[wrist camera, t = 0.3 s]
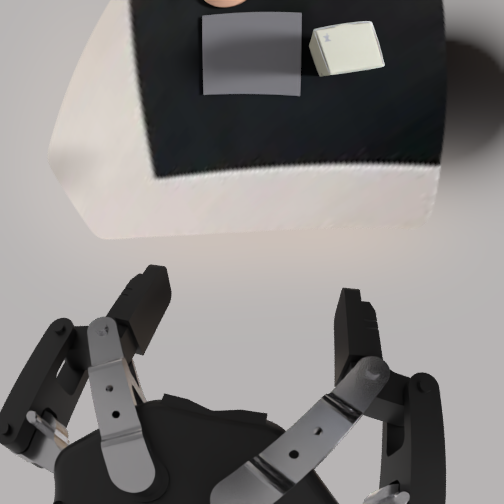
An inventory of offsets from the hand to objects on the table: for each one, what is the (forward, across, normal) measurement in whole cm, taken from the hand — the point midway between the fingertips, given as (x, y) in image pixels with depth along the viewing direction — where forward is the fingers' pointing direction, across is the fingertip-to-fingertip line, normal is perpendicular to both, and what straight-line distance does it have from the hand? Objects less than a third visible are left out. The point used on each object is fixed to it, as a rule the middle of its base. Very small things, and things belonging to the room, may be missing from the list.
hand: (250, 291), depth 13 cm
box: (+28, -5, -12) cm, 31 cm away
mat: (+28, +5, -12) cm, 31 cm away
